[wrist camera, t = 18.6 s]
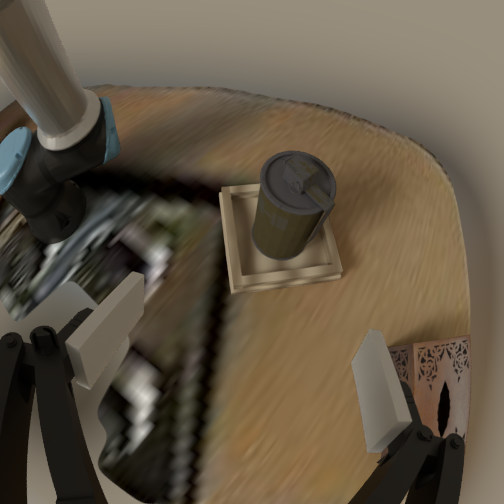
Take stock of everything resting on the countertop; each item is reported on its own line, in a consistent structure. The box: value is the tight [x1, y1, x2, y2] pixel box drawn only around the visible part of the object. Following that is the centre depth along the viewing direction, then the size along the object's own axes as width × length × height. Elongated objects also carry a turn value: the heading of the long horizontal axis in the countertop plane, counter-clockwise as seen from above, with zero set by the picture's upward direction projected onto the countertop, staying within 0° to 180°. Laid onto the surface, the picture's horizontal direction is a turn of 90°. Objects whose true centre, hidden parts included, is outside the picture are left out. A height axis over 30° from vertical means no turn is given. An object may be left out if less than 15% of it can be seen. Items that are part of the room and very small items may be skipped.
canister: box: [252, 151, 336, 261], centre depth 44 cm, size 11×10×20 cm
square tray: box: [219, 184, 343, 295], centre depth 53 cm, size 20×20×4 cm
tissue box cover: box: [381, 335, 471, 458], centre depth 39 cm, size 26×14×10 cm, turn 179°
